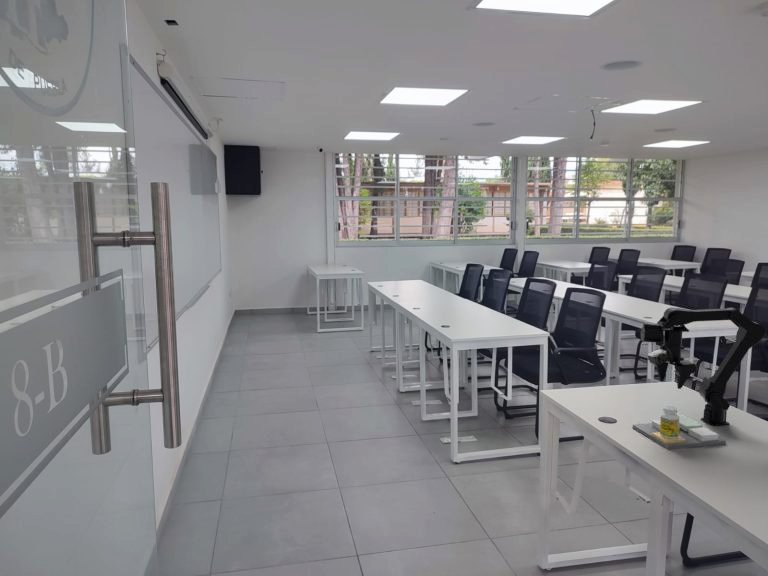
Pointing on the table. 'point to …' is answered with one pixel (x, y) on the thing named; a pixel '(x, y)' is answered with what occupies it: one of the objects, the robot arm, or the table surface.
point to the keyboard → (680, 436)
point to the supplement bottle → (669, 423)
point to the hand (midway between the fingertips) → (670, 384)
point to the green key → (687, 423)
